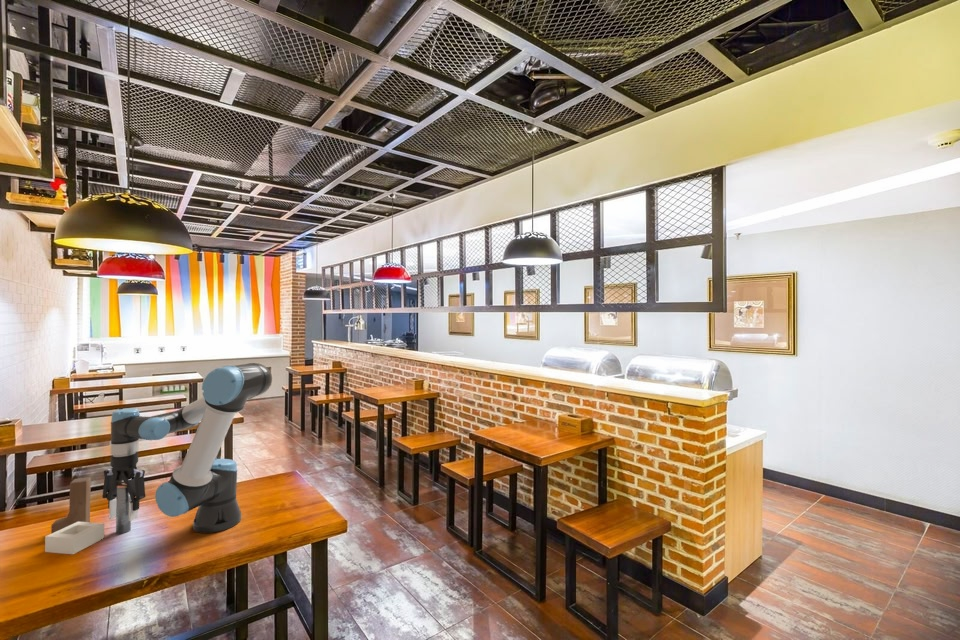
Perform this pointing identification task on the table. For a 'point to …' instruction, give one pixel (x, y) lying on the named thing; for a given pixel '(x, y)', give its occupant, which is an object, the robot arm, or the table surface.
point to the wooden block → (76, 504)
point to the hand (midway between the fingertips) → (123, 518)
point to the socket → (74, 537)
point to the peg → (122, 509)
